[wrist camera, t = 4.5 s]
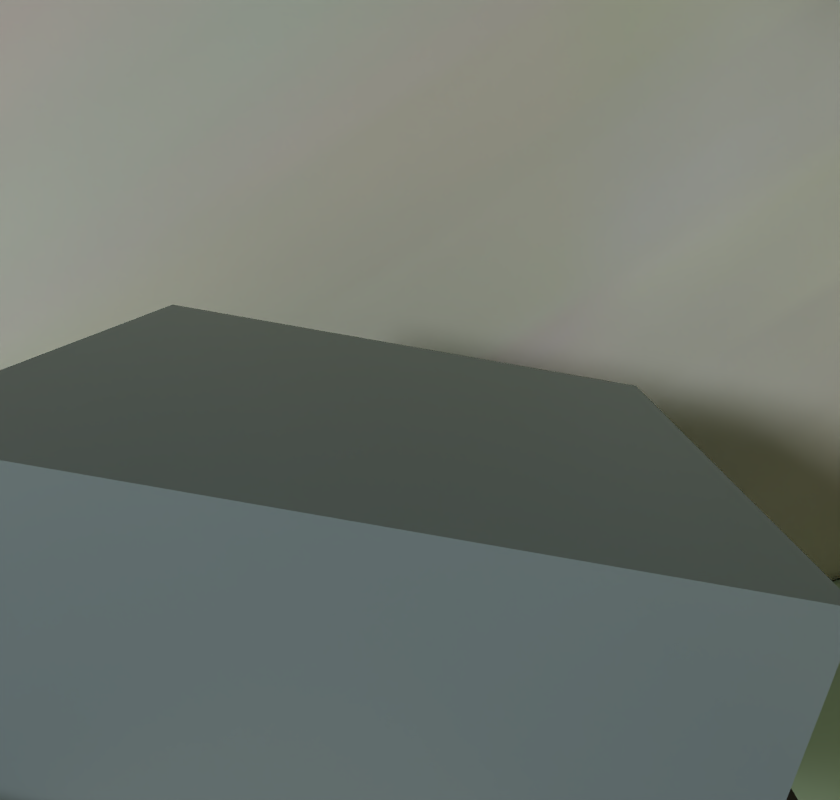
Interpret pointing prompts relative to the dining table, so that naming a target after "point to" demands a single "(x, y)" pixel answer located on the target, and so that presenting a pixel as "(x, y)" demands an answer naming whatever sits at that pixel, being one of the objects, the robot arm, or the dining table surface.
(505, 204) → the dining table surface
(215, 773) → the slate square block
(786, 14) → the dining table surface
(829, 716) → the green flat disc
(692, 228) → the dining table surface
